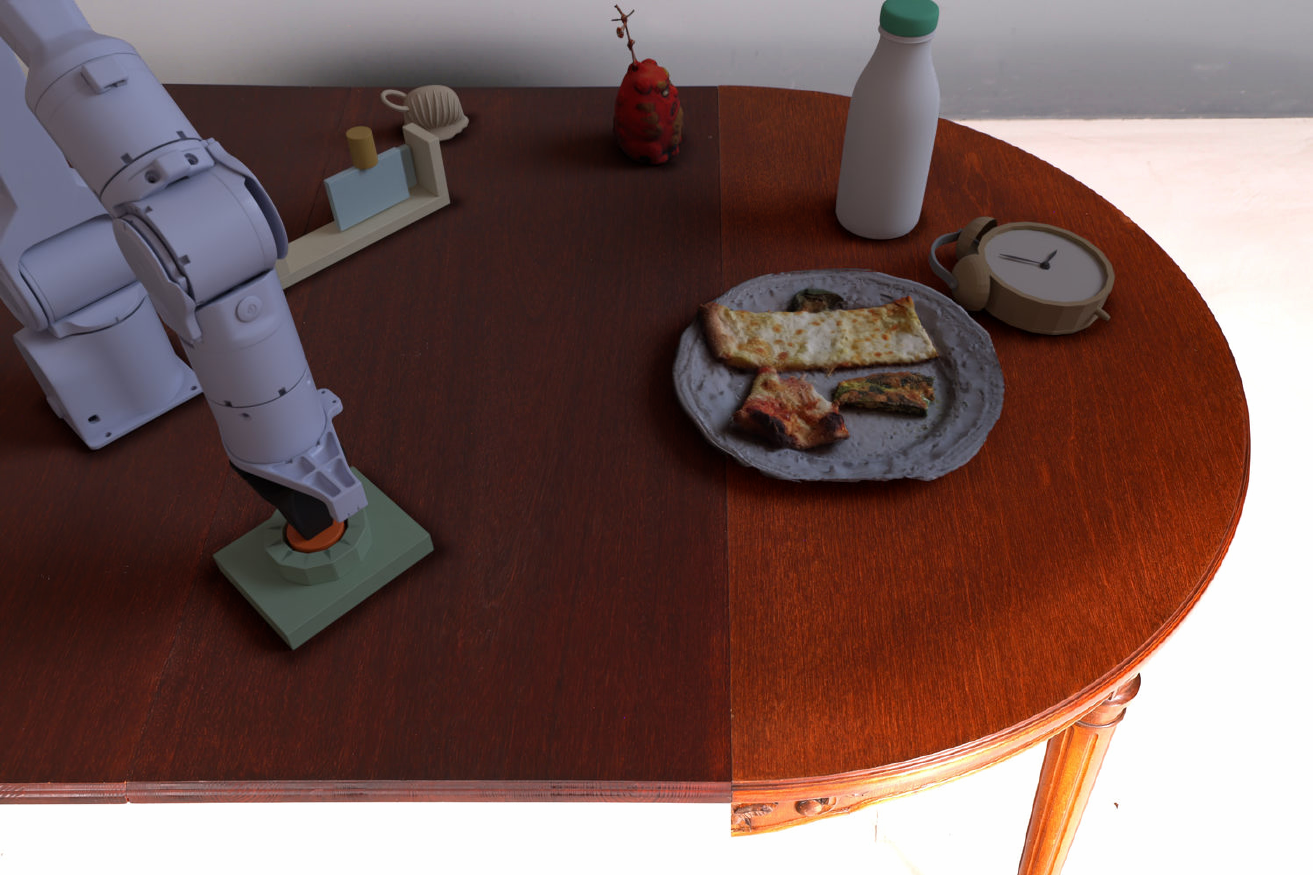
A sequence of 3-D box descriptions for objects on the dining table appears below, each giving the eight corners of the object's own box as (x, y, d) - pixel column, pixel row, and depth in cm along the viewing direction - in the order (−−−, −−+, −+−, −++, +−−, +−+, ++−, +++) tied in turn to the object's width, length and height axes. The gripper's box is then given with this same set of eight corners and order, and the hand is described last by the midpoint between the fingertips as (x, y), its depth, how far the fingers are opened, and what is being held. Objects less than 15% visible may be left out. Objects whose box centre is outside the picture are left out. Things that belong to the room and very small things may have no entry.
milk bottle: (924, 242, 95) (968, 26, 80) (838, 242, 95) (868, 27, 80) (911, 194, 100) (951, -16, 86) (830, 194, 100) (856, -15, 86)
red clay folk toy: (680, 171, 103) (680, 22, 93) (609, 169, 104) (602, 21, 93) (684, 131, 109) (685, -14, 98) (617, 129, 109) (611, -15, 98)
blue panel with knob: (345, 234, 94) (324, 155, 88) (332, 225, 95) (310, 146, 89) (414, 200, 98) (398, 122, 92) (400, 191, 99) (383, 113, 93)
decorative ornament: (472, 137, 108) (465, 89, 104) (390, 148, 107) (380, 100, 103) (468, 118, 111) (460, 70, 107) (388, 128, 110) (378, 80, 106)
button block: (293, 650, 66) (278, 618, 63) (220, 570, 70) (203, 537, 67) (434, 550, 71) (425, 517, 68) (357, 481, 75) (346, 448, 73)
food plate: (672, 499, 74) (672, 465, 71) (671, 293, 90) (671, 259, 87) (1028, 498, 73) (1040, 464, 71) (963, 291, 90) (971, 258, 87)
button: (312, 574, 67) (306, 557, 66) (282, 544, 69) (275, 527, 68) (359, 542, 69) (353, 526, 68) (329, 513, 71) (323, 496, 70)
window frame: (282, 290, 91) (259, 222, 86) (258, 271, 93) (234, 203, 88) (450, 203, 100) (438, 137, 95) (425, 187, 102) (412, 122, 97)
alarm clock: (1119, 320, 82) (935, 263, 83) (1090, 364, 86) (914, 309, 87) (1117, 239, 90) (948, 187, 91) (1090, 283, 93) (928, 232, 94)
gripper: (390, 398, 56) (432, 552, 66) (249, 284, 64) (306, 439, 73) (276, 468, 53) (338, 620, 63) (141, 339, 60) (215, 494, 70)
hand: (315, 527), depth 68 cm, fingers closed, pressing on button
